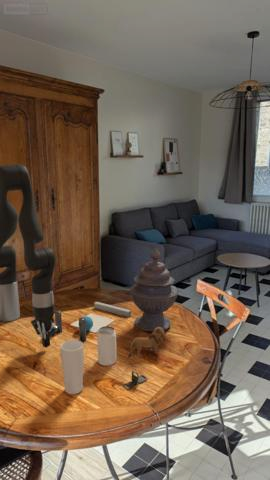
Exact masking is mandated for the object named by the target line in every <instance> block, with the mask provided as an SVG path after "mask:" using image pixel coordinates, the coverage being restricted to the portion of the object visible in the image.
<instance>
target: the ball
mask: <svg viewBox="0 0 270 480" xmlns="http://www.w3.org/2000/svg"><path fill="white" fill-rule="evenodd" d="M83 317H84V318H85V320H86V332H89V331H88V330H90V329H91V328H92V326H93V320H92V319H91V318H90V317H88V316H87V315H84V316H83Z"/></svg>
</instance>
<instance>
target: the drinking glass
mask: <svg viewBox="0 0 270 480" xmlns="http://www.w3.org/2000/svg"><path fill="white" fill-rule="evenodd" d="M84 355H85V352H84V344H83V342H81V341H80V340H77V339H69V340H65V341H64V342H62V343H61V345H60V361H61V367H62V368H61V369H62V373H63V380H64V390H65V392H66V393H67V394H68V395H69V394H70V395H77V394H79V393H81V392H82V391H83V389H84V384H83V383H84V382H83V381H84V379H83V378H84V362H85V360H84V359H85V356H84Z"/></svg>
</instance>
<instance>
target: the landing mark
mask: <svg viewBox="0 0 270 480" xmlns="http://www.w3.org/2000/svg"><path fill="white" fill-rule="evenodd" d="M86 316H88V317H90V318H91V319H92V320H93V326H92V328H91V329H90V330H88V331H87V332H90V333H94V334H96V333H98V330H99V328H101V327H104V326H109V325H110V324H112V323H114V322H116V320H115V319H112V318H109V317H106V316H102V315H98V314H95V313H91V312H90V313H89V314H87V315H86ZM70 326H72V327H75V328H78V329H79V319H78V320H76V321H74V322H72V323H71V324H70Z"/></svg>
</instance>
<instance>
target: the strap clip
mask: <svg viewBox="0 0 270 480" xmlns="http://www.w3.org/2000/svg"><path fill="white" fill-rule="evenodd" d="M148 379H149V378H148V377H147V376H145V375H144V374H139V373H138V372H137V371H135V370H132V372H131V379H130V380H131V381H129V382H126V383H124V384H122V387H123V388H124V389H125V390H127V391H129V390H132V389H134V388H135V387H136V386H137V385H138V384H140V385H141V384H143V383H144V382H147V381H148ZM126 386H127V387H126Z"/></svg>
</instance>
